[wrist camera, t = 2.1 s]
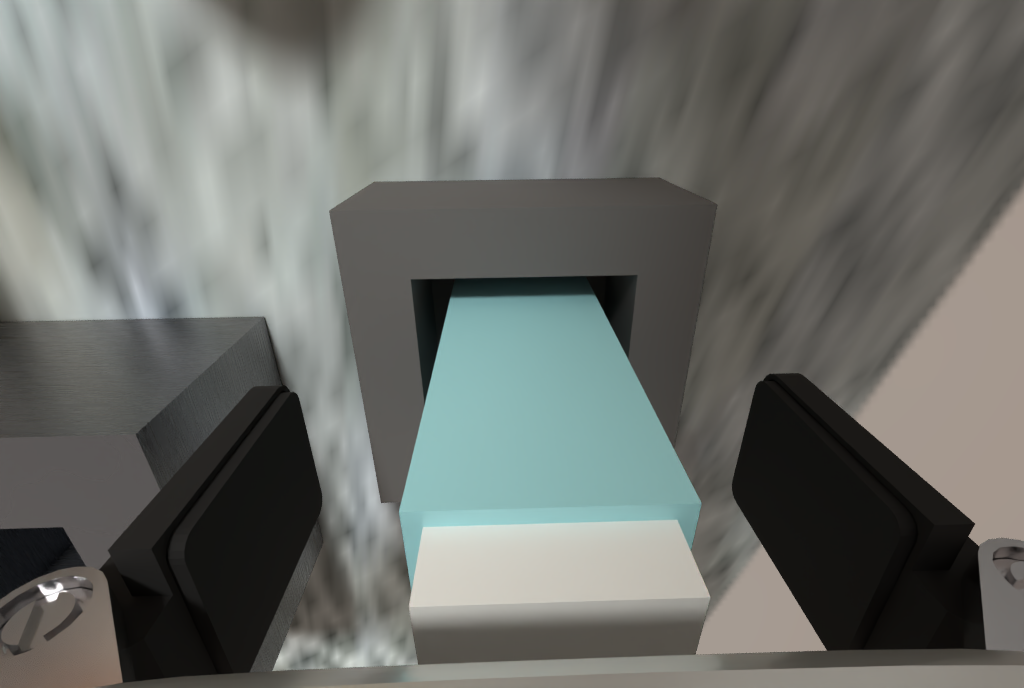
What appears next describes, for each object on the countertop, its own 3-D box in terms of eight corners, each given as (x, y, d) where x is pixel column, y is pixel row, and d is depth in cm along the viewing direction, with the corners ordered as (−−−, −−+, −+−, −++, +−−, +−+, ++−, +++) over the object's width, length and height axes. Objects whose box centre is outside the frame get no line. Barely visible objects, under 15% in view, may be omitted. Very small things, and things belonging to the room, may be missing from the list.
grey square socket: (374, 181, 13) (329, 210, 10) (659, 177, 14) (717, 204, 10) (405, 418, 17) (381, 502, 13) (630, 413, 17) (666, 494, 14)
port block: (-63, 323, 15) (-393, 453, 9) (263, 316, 15) (128, 440, 10) (73, 549, 19) (-96, 728, 14) (323, 542, 20) (254, 715, 14)
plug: (457, 269, 14) (379, 591, 5) (580, 267, 14) (740, 579, 5) (464, 376, 15) (415, 771, 6) (574, 374, 15) (686, 760, 6)
